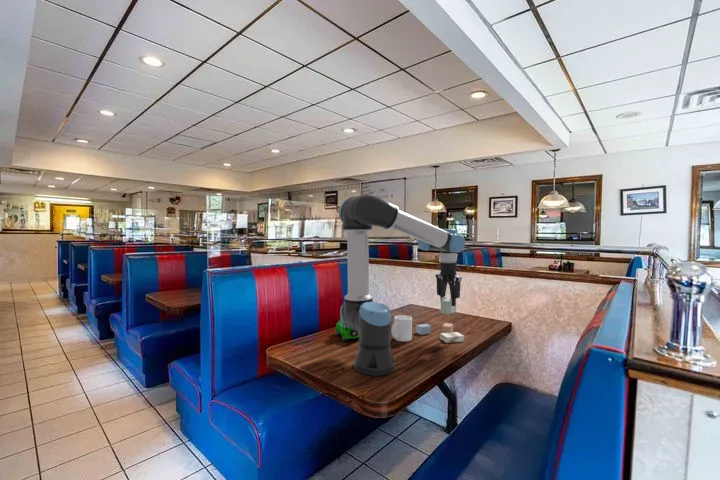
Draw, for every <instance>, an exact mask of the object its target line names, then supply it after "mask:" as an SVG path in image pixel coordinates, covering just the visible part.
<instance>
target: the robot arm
mask: <svg viewBox="0 0 720 480" xmlns="http://www.w3.org/2000/svg"><path fill="white" fill-rule="evenodd" d="M338 216H339V219H340V221H341V222H342V224H343V225H342V226H343V229H342V230H343V232H344V233H345V234H346V236H347V238H346V241H347V242H346V245H347V246H346V247H347V249H346V250H347V251H346V252H347V254H346V255H347V294H346V295H344V298H343V300H344V301H343V304H341V307H340V313H339V316H340V318H342V320H343V322H344V323H345V324H346V325H347V326H348V327H349V328H351V329H354V330H355V331H357V332H358V333H359V340H358V341H359V344H358V349H357V352H356V356H355V359H354V363H353V364H354V369H355V371H356V372H358V373H360V374H363V375H365V376H374V377H375V376H378V377H379V376H386V375H389V374H391V373H393V372H394V371H395V370H396V368H395V367H396V366H395V365H396V362H395V359H394V355H393V352H392V347H391V340H392V339H391V336H392V334H391V328H392V312H391V308H390V307H389V306H388V305H386V304H384V303H381V302H377V301H376V302H375V301H373V298H374V297H373V295H372V294H370V287H369V286H370V279H369V278H370V274H369V272H370V271H369V270H370V269H369V265H370V263H369V261H370V260H369V257H370V256H369V254H370V253H369V249H370V248H369V234H370V233H371V232H372V231H373V226H374V227H380V228H383V229H385V230H389V229H393V230H394V231H397V232H400V233H401V234H404V235H407V236H409V237H411V238H415V239H417V246H418V248H419V249H420V250H422V251H436V252H437V251H439V253H440V254H439V257H440V258H439V261H440V263H439V269H440V273H436V274H435V279H436V295H437V296H439V297H440V303H441V300H443V299H447V298H448V297H447V294H446V292H447V287H449V293H450V297H449V298H450V313H451V314H454V312H455V306H456V307H457V299H460V297H461V282H462V277H461V276H458V275H457V268H458V267H457V261H458V259H457V256H458V254H457V253H461V252H462V251H463V250H464V249H465V247H466V239H465V236H463V235H461V234H458V233H457V232H458V231H457V230H456V228H440V227H437V226H435V225H433V224H431V223H429V222H427V221H425V220H422V219H420V218H417V217H416V216H414V215H411V214H409V213H407V212H404V211H402V210H400V209H399V207H398V206H397V205H396V204H394V203H392V202H390V201H387V200H385V199H382V198H381V197H378V196H375V195H371V194H364V195H363V194H362V195H356V196H351V197H349V198H347V199H345V200H344V201H343V202H342V203H341V204H340V207H339V209H338ZM455 313H456V312H455Z"/></svg>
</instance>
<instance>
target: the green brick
mask: <svg viewBox="0 0 720 480" xmlns="http://www.w3.org/2000/svg"><path fill="white" fill-rule="evenodd" d="M450 298H451V297H447V299H443V300H441V302H440V313H441V314H444V315H451V314H452V313H450ZM456 312H457V305H456V306H455V312H454V313H456ZM454 313H453V314H454Z"/></svg>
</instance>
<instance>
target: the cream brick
mask: <svg viewBox="0 0 720 480" xmlns="http://www.w3.org/2000/svg"><path fill="white" fill-rule="evenodd" d="M439 340H441V341H443V342H444V343H446V344H449V343H451V344H452V343H460V342H461V343H462V342H465V335H463V334H461V333H460V332H457V331H453V332H451V333H442V332H441V333H439Z"/></svg>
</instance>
